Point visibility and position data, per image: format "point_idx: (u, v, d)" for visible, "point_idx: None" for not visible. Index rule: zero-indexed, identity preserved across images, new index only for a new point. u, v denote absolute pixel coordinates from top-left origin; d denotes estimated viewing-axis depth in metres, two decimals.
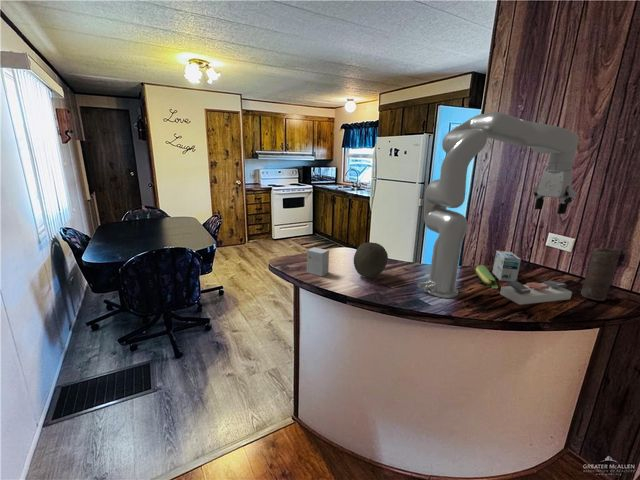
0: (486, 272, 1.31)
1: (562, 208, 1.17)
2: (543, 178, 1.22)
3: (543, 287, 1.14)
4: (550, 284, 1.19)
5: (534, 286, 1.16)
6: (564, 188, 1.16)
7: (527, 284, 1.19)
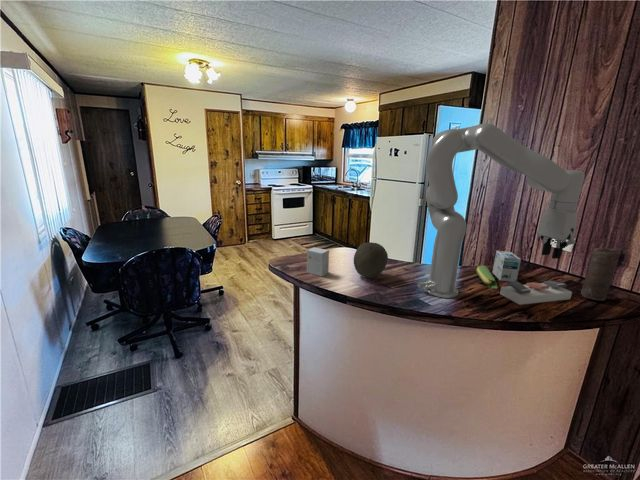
0: (486, 272, 1.31)
1: (557, 253, 1.09)
2: (545, 217, 1.11)
3: (543, 287, 1.14)
4: (550, 284, 1.19)
5: (534, 286, 1.16)
6: (568, 230, 1.04)
7: (527, 284, 1.19)
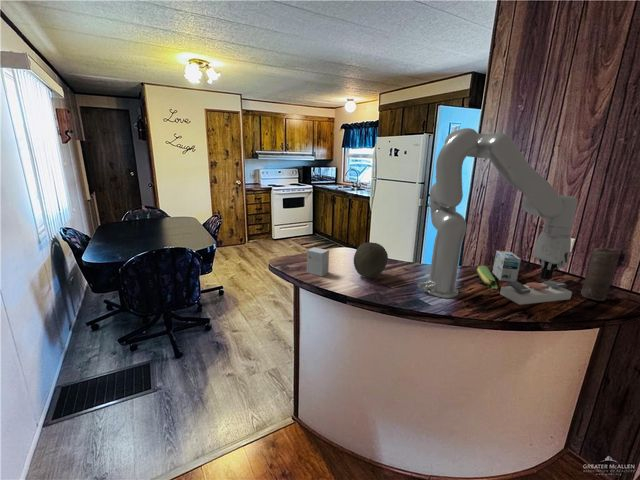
0: (487, 272, 1.31)
1: (548, 274, 1.12)
2: (539, 240, 1.13)
3: (543, 287, 1.14)
4: (550, 284, 1.19)
5: (534, 286, 1.16)
6: (562, 255, 1.06)
7: (527, 284, 1.19)
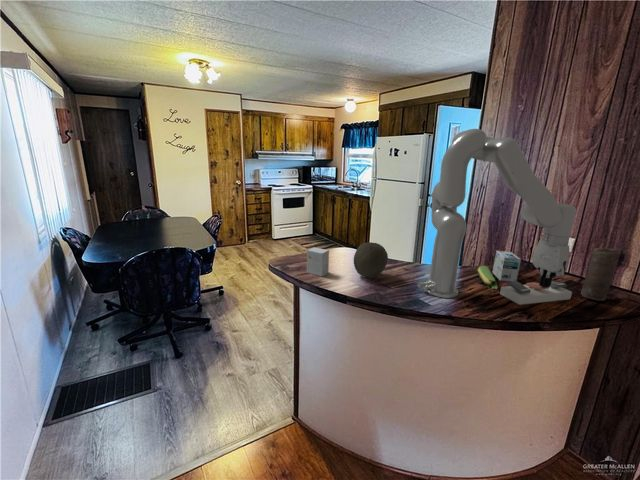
0: (487, 272, 1.30)
1: (547, 282, 1.13)
2: (538, 248, 1.14)
3: None
4: None
5: (534, 286, 1.16)
6: (560, 263, 1.07)
7: (527, 284, 1.19)
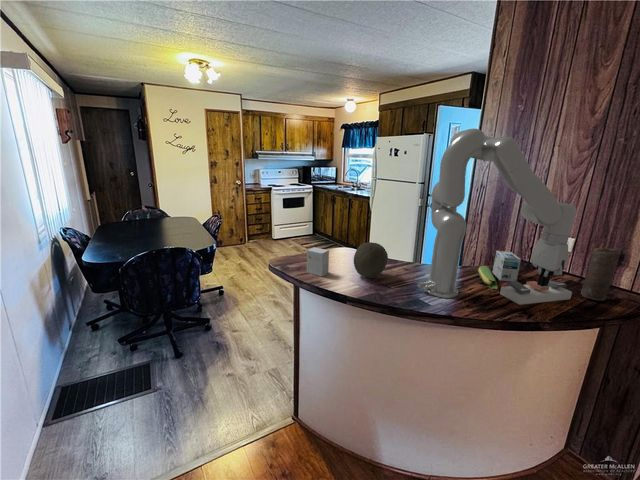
0: (487, 272, 1.30)
1: (544, 281, 1.13)
2: (537, 247, 1.14)
3: (543, 288, 1.15)
4: (550, 284, 1.19)
5: (534, 286, 1.16)
6: (559, 262, 1.07)
7: (527, 283, 1.19)
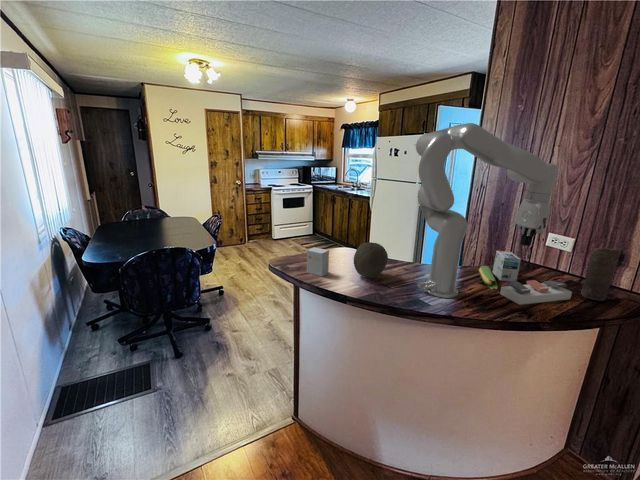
0: (488, 273, 1.30)
1: (527, 240, 1.17)
2: (521, 207, 1.18)
3: (543, 289, 1.15)
4: (550, 284, 1.19)
5: (534, 286, 1.16)
6: (540, 220, 1.11)
7: (527, 282, 1.19)
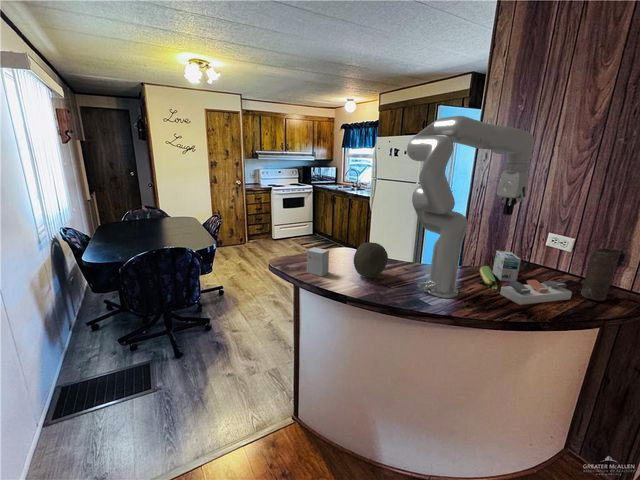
0: (488, 273, 1.30)
1: (509, 209, 1.23)
2: (501, 179, 1.23)
3: (542, 290, 1.15)
4: (550, 284, 1.19)
5: (534, 287, 1.16)
6: (520, 188, 1.17)
7: (528, 282, 1.19)
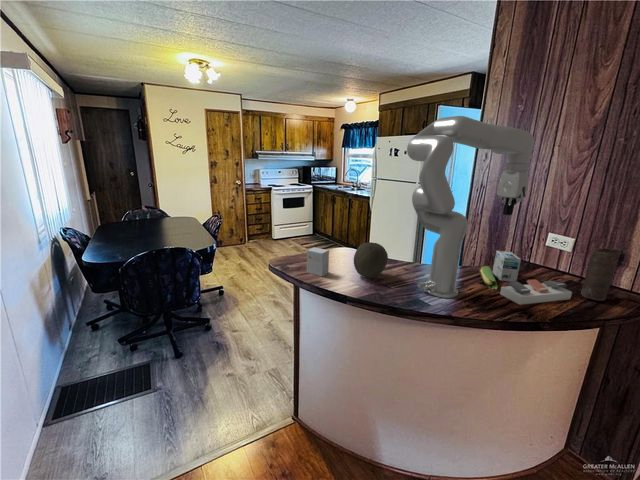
0: (488, 273, 1.30)
1: (509, 209, 1.23)
2: (501, 179, 1.23)
3: (542, 290, 1.15)
4: (550, 284, 1.19)
5: (534, 287, 1.16)
6: (520, 188, 1.17)
7: (528, 281, 1.19)
